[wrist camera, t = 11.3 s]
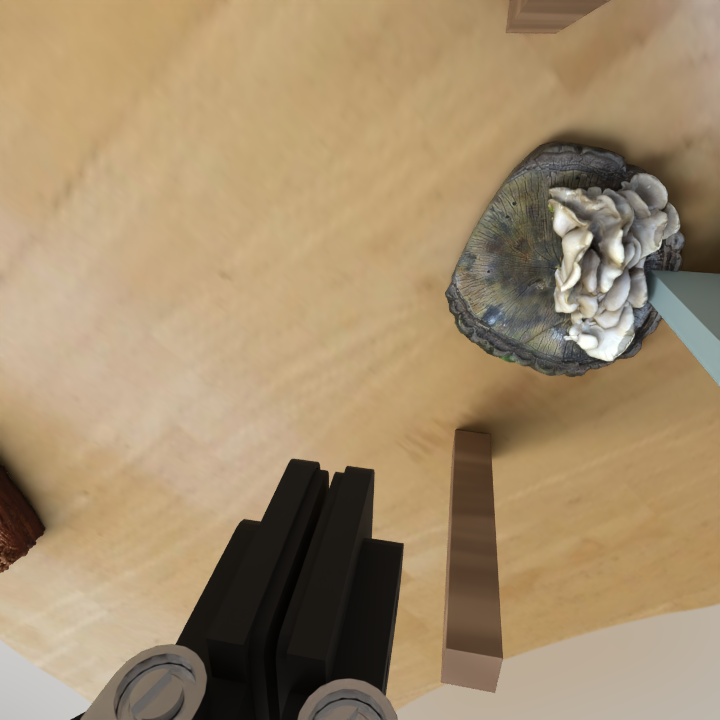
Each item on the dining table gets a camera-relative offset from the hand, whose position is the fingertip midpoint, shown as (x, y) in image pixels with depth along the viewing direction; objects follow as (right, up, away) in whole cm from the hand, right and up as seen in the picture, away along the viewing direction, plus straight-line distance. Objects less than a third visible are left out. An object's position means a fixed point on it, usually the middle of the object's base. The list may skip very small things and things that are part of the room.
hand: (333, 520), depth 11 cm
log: (+10, +8, +16) cm, 21 cm away
